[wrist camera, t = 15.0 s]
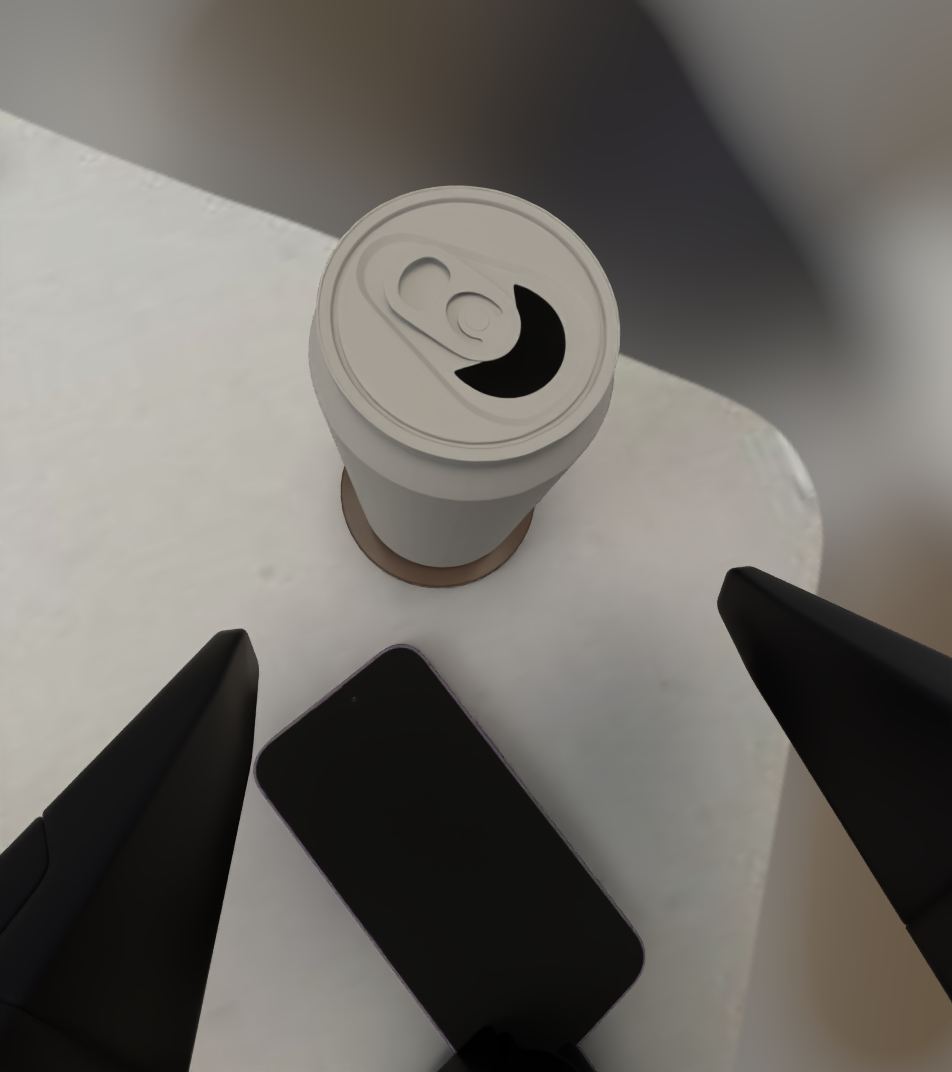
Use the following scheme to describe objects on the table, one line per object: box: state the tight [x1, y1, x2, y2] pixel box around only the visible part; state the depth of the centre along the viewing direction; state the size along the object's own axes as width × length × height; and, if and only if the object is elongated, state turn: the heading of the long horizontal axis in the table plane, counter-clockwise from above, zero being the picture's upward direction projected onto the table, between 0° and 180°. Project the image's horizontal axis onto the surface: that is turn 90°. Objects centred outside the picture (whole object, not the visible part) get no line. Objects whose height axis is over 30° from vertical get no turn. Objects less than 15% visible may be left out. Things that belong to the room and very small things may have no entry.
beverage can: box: [309, 186, 620, 567], centre depth 15 cm, size 6×6×12 cm
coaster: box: [341, 466, 534, 588], centre depth 21 cm, size 8×8×1 cm
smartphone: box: [253, 644, 645, 1054], centre depth 19 cm, size 7×1×15 cm
